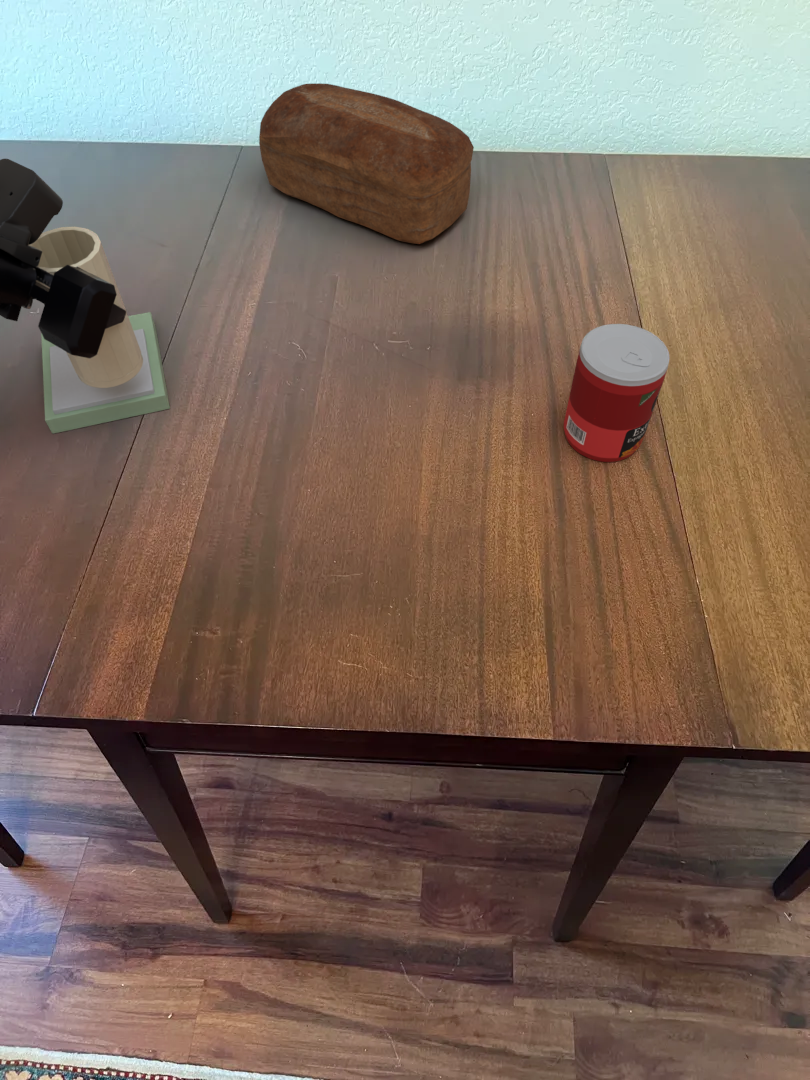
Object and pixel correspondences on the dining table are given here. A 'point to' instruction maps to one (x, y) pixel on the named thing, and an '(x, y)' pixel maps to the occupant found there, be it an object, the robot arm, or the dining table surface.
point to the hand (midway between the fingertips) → (98, 302)
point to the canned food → (614, 391)
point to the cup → (119, 342)
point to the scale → (89, 405)
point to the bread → (367, 159)
